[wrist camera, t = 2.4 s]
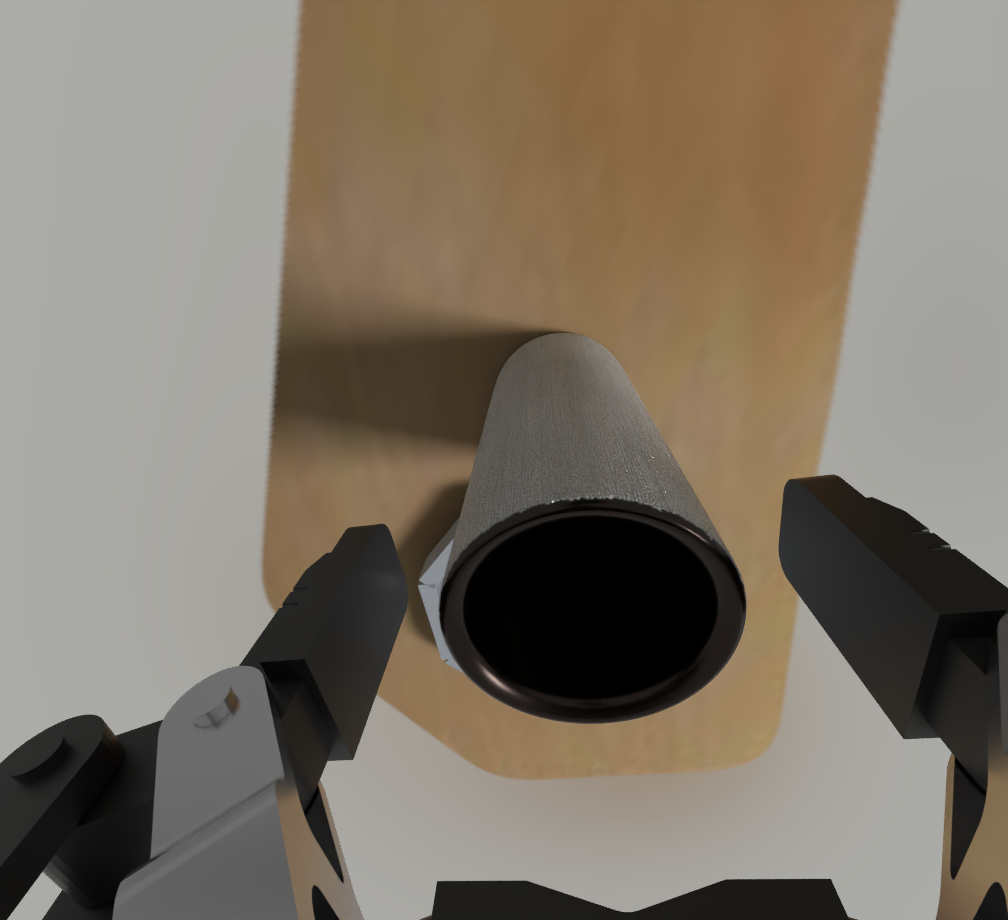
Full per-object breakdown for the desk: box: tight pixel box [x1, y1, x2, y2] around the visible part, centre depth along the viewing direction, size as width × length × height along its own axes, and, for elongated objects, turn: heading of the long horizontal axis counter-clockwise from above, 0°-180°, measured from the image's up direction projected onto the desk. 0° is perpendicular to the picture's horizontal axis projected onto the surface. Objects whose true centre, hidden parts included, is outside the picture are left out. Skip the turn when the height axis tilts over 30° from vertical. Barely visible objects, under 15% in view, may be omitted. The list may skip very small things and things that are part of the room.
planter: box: [438, 333, 746, 724], centre depth 11 cm, size 4×4×10 cm
